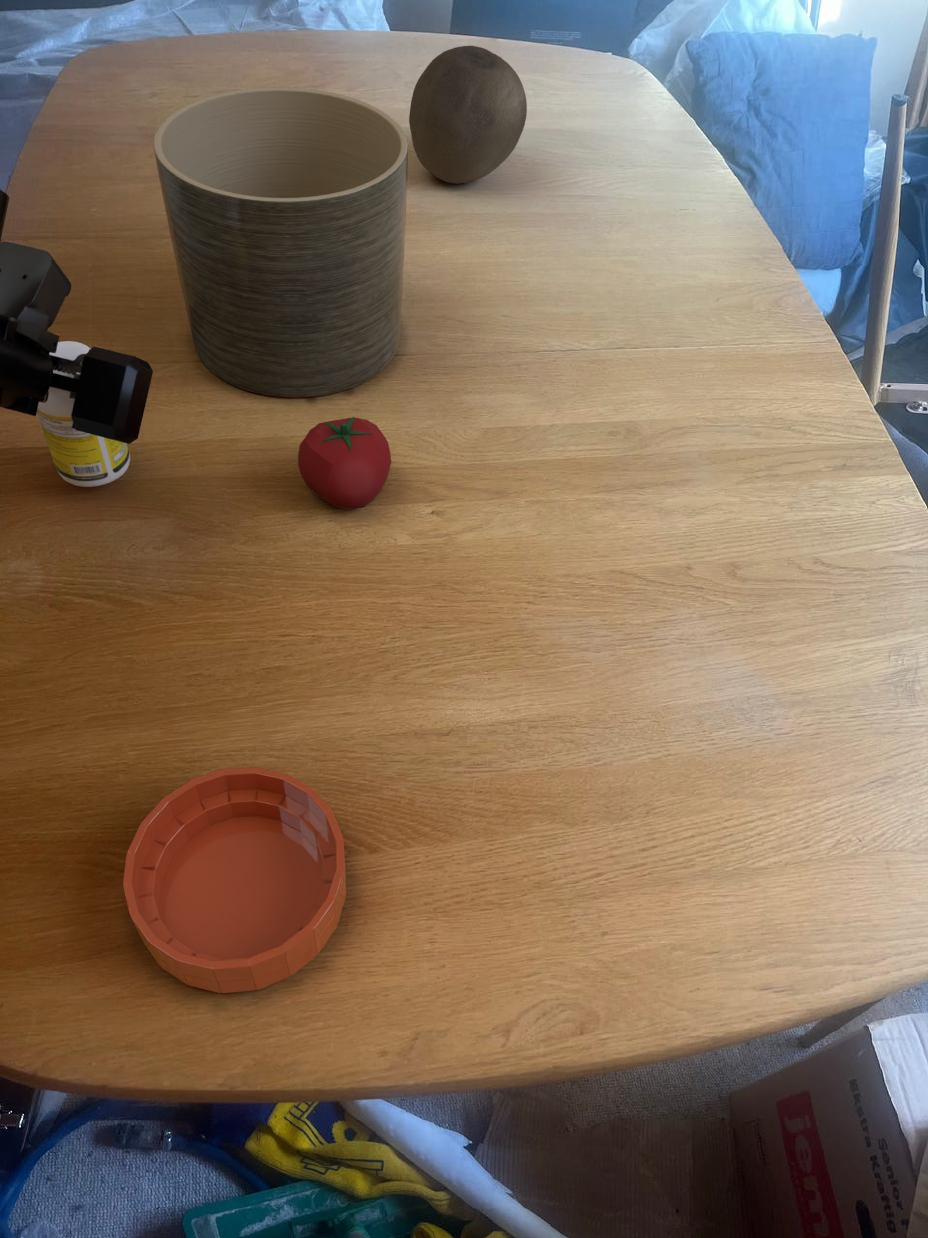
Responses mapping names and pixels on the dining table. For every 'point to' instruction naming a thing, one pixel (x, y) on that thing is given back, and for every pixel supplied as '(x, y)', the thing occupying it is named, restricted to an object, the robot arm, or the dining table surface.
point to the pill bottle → (78, 436)
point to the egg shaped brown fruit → (466, 114)
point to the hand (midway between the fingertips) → (85, 394)
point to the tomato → (345, 461)
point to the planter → (287, 235)
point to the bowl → (236, 879)
